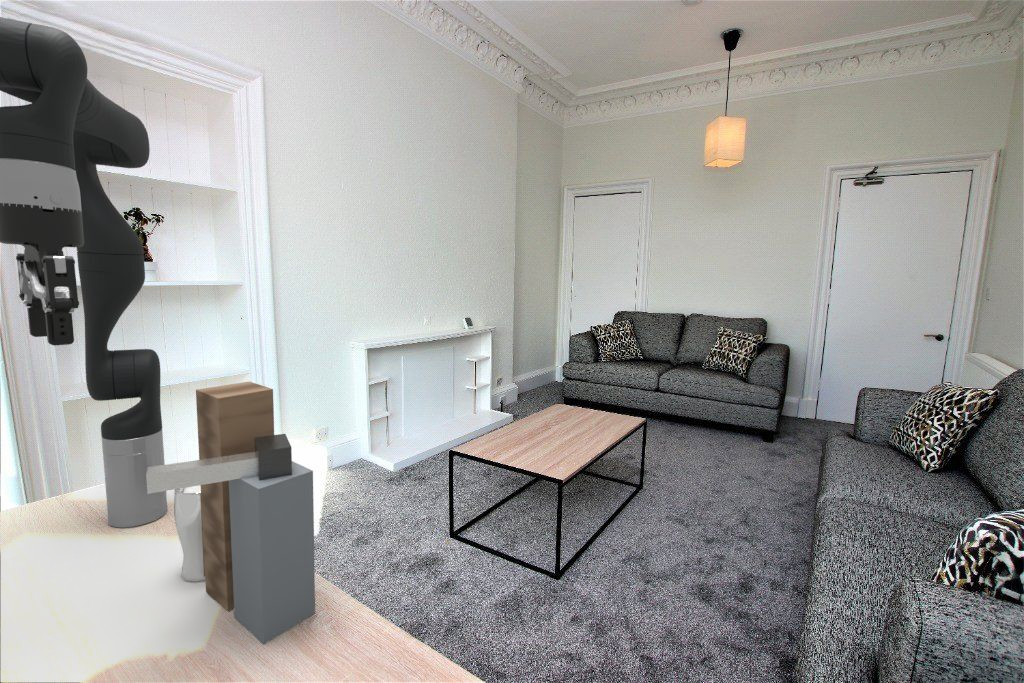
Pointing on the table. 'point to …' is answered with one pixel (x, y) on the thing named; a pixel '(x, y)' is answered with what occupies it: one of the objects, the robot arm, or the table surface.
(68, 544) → the table surface
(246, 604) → the grey tall block
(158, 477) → the blocky hammer
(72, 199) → the robot arm
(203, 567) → the beer glass
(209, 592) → the tall wooden post
